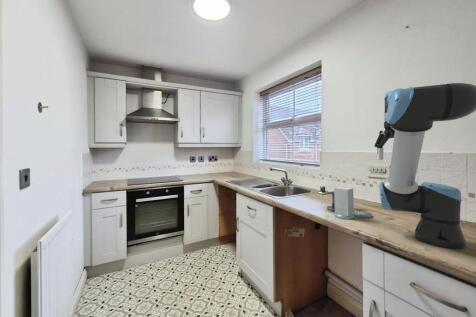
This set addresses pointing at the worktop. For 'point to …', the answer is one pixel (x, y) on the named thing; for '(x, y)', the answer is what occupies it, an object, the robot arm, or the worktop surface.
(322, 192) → the balance beam
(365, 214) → the dish grey
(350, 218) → the dish green
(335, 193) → the skincare box
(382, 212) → the worktop surface
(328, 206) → the post
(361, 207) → the worktop surface
